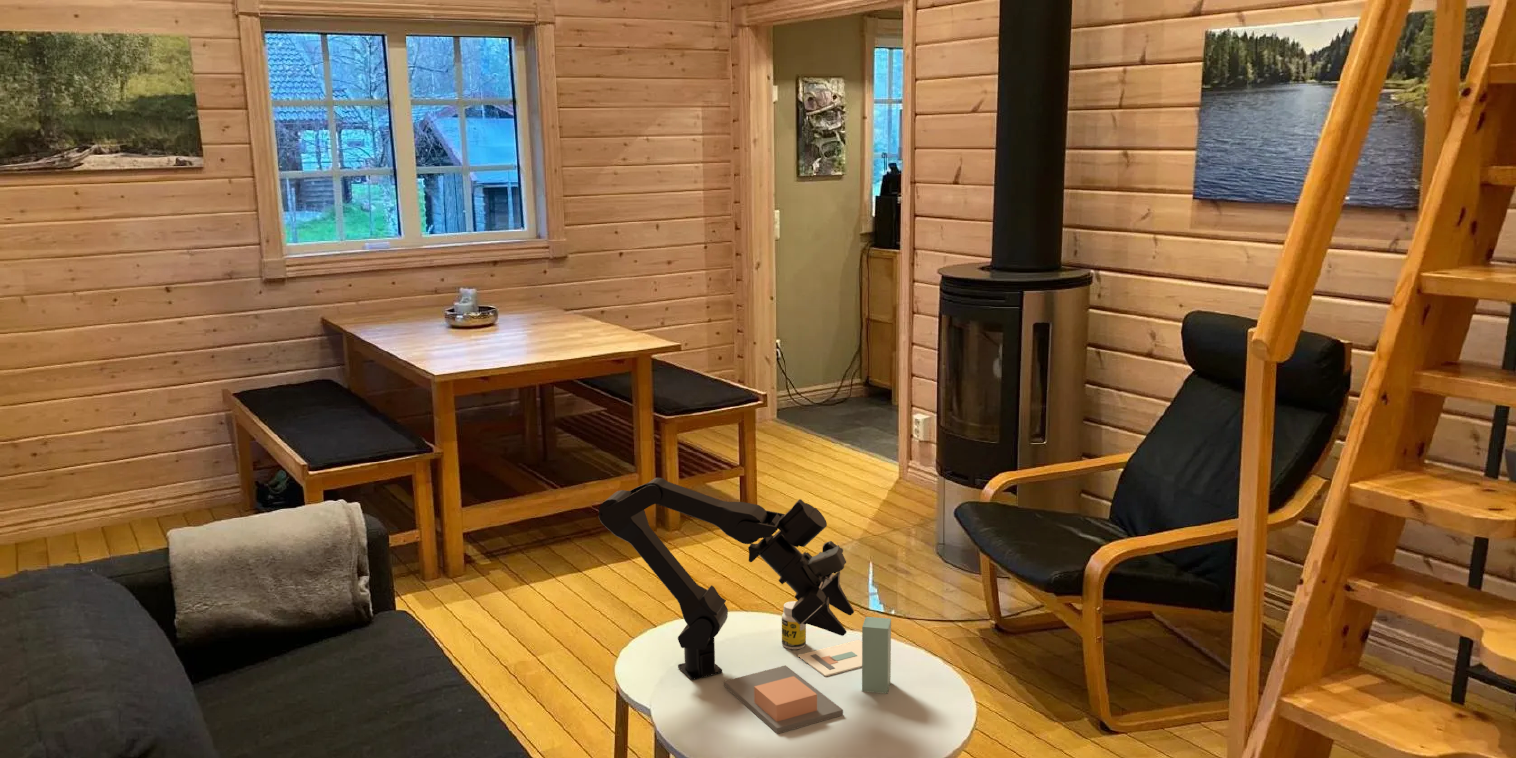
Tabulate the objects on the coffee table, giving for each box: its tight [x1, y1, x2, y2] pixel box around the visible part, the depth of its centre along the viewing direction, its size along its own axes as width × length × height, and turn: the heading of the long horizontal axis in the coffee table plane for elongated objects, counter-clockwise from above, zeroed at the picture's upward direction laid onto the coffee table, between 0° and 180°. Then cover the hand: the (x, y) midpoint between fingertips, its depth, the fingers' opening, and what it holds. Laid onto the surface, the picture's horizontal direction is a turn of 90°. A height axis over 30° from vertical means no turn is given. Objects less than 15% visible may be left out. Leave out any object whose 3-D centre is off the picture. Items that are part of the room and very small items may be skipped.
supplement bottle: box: [781, 600, 807, 650], centre depth 226 cm, size 5×5×8 cm
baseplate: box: [723, 665, 844, 734], centre depth 204 cm, size 20×13×4 cm, turn 28°
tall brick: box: [861, 616, 892, 694], centre depth 208 cm, size 5×5×12 cm
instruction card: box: [797, 639, 862, 677], centre depth 220 cm, size 10×14×1 cm
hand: (848, 623), depth 208 cm, fingers open, 9 cm apart
